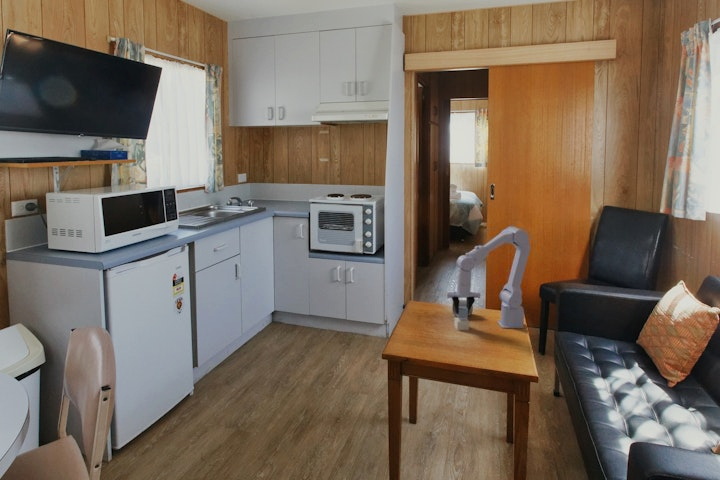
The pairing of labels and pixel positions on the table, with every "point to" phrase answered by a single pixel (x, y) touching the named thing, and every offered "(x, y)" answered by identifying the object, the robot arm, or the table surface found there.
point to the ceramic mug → (461, 304)
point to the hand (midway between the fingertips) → (462, 313)
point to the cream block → (461, 324)
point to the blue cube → (462, 312)
